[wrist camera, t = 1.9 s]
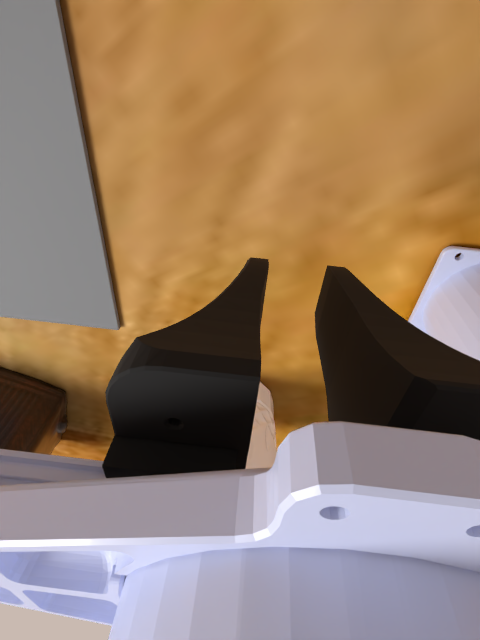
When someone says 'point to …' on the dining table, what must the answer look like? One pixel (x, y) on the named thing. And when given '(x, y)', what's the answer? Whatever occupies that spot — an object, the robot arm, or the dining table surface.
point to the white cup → (262, 432)
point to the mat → (46, 179)
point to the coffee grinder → (30, 414)
